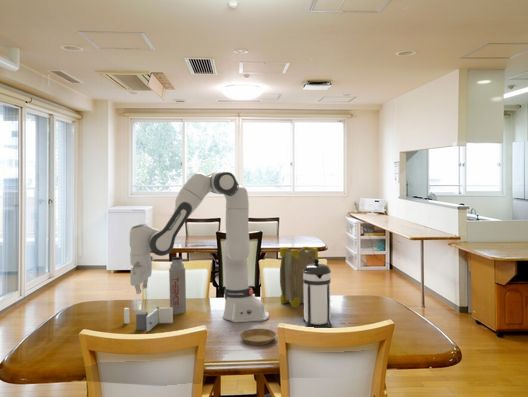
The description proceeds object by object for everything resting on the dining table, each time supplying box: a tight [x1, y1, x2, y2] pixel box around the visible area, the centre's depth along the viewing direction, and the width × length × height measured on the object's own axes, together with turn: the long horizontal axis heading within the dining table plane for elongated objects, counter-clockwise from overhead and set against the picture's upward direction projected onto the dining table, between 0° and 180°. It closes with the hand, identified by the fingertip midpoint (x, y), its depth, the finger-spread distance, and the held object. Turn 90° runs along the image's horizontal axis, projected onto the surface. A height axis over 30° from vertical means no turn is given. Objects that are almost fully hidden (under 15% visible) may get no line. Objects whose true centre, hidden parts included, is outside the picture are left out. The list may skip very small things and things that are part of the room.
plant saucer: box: [239, 328, 277, 346], centre depth 175 cm, size 15×15×3 cm
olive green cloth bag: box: [279, 246, 319, 308], centre depth 230 cm, size 20×11×30 cm, turn 125°
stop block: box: [135, 311, 149, 331], centre depth 192 cm, size 4×4×7 cm
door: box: [146, 308, 160, 332], centre depth 193 cm, size 12×2×6 cm, turn 174°
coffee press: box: [302, 258, 333, 328], centre depth 195 cm, size 17×16×30 cm
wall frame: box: [123, 306, 174, 324], centre depth 199 cm, size 22×1×8 cm, turn 89°
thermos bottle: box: [168, 256, 187, 315], centre depth 216 cm, size 8×8×28 cm
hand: (141, 290), depth 191 cm, fingers open, 8 cm apart
